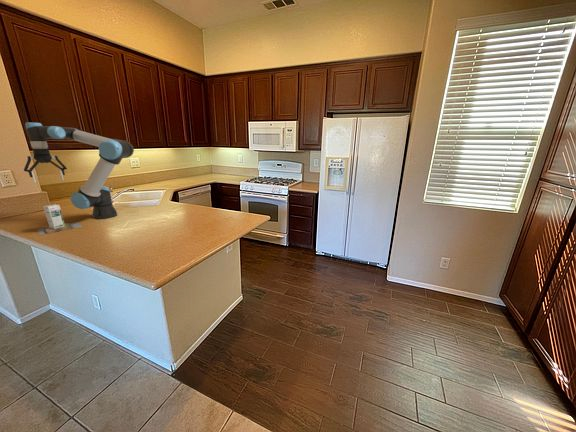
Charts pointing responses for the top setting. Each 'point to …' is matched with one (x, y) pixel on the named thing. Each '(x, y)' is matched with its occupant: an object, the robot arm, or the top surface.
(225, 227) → the top surface
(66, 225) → the stand
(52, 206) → the syrup box
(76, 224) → the mat
